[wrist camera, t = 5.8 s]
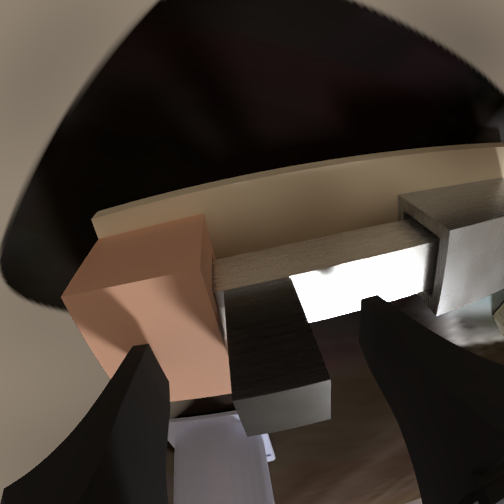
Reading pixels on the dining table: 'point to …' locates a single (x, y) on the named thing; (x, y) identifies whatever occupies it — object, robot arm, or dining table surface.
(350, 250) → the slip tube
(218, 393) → the socket block
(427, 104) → the dining table surface
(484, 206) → the grey sleeve
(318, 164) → the birch board
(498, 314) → the skincare box
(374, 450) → the dining table surface
